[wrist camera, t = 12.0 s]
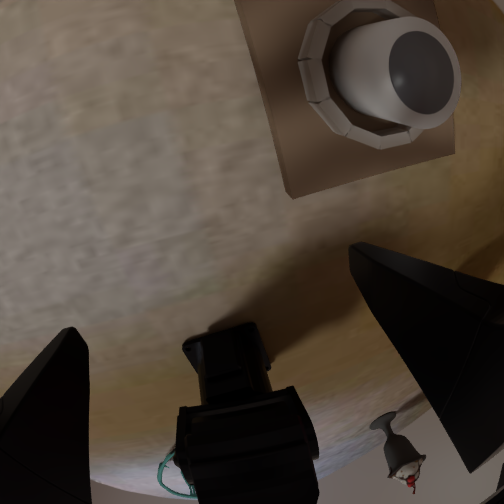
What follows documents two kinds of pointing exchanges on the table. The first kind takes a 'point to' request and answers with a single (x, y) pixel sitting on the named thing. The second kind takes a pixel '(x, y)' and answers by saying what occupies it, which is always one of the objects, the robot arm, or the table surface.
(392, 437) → the sundae
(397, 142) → the mount board
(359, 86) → the lens
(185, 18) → the table surface
